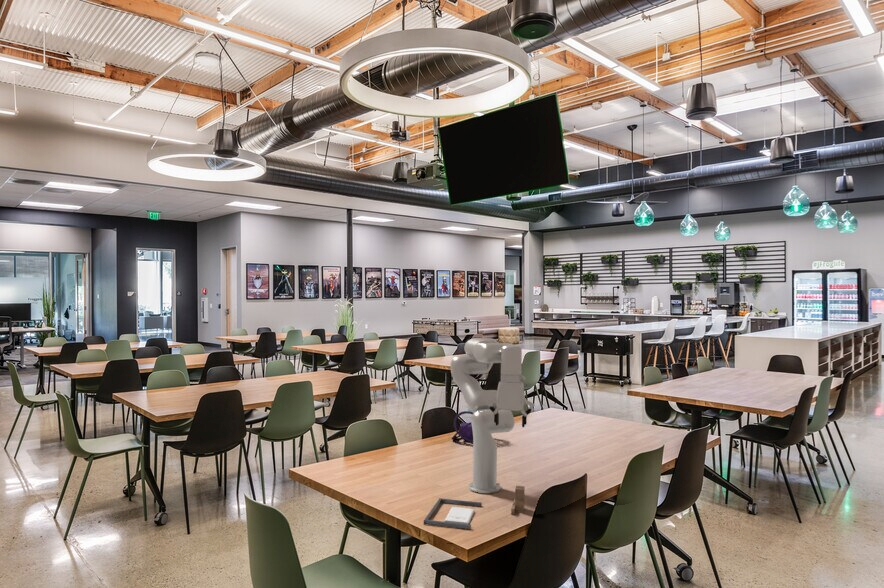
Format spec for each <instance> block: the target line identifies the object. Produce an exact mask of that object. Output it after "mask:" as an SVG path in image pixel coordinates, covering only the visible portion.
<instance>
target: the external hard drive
mask: <svg viewBox="0 0 884 588" xmlns="http://www.w3.org/2000/svg"><path fill="white" fill-rule="evenodd" d="M474 514H475V509H474V508H468V507H458V506H457V507H456V506H452V507H451V508H450V509H449V512H448V514H447V516H446V517H445V519H444V520H443V522H451V523H460V524H468V523H469V524H470V522H471V520H472V517H473V516H474Z"/></svg>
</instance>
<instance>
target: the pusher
mask: <svg viewBox="0 0 884 588" xmlns="http://www.w3.org/2000/svg"><path fill="white" fill-rule="evenodd" d="M525 487H526V486H523V485H516V486H515V492H514V499H513V500H512V505H511V508H510V511H511V512H510V515H512V516H514V515H515V513H517V512H519V513H524V512H525Z"/></svg>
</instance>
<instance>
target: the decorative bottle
mask: <svg viewBox="0 0 884 588" xmlns="http://www.w3.org/2000/svg"><path fill="white" fill-rule="evenodd" d="M465 410H466V411H465ZM465 410H464V411H460V412H459V413H457V414H456V415H455V417H454V419H453V428H454V430H455V432H456V433H455V434H453V436H452V437H451V440H452V441H453V440H456V439H458V438H461V439H462V440H463V441H464V440H466V441H465V442H467V441H468V443H472V444H473V430H472V423H471V421H469V422H461V423H460V426H459V429H458V428H457V420H458V418H459V417H460V416H462V415H464V414H471V415H473V413H472V412H471V411H470V410H469V408H468V406H467V404H466V409H465ZM462 419H464V418H462ZM455 438H456V439H455Z"/></svg>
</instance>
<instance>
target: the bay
mask: <svg viewBox="0 0 884 588" xmlns="http://www.w3.org/2000/svg"><path fill="white" fill-rule="evenodd" d="M441 502H442V503H441ZM449 503H453V504H452V505H459V504H462V505H461V506H468V505H469V506H471V507H480V508H481V507H482V505H483V504H482V502H481V501H480V502H478V501H469V500H460V499H452V498H451V499H449V498H438V500H437V501H436V502H435V504H434V505H433V506H432V508H431V510H430V511H429V513H428V514H427V515H426V517H425V518H424V520H423V525H426V524H428V525H427V526H429V525H430V526H435V525H437V526H436V527H443V526H447V527H446V528H452V527H456V528H455V529H460V528H467V529H466V530H469V529H472V524H470V523H469V524H460V523H451V522H444V521H440V520H433V519H431V518H432V517H433V515H434V514H435V513H436V512H437V510H438V508H439V507H440V506H441V504H449ZM439 505H440V506H439Z"/></svg>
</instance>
